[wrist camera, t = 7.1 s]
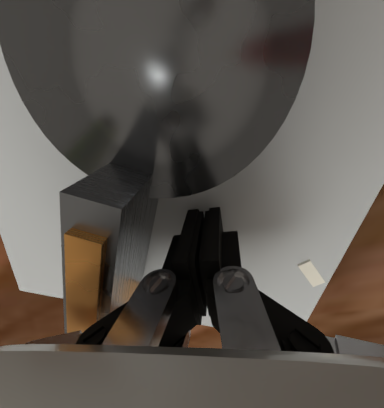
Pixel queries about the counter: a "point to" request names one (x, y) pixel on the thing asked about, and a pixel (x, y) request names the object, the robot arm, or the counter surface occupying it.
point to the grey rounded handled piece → (147, 114)
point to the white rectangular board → (243, 181)
